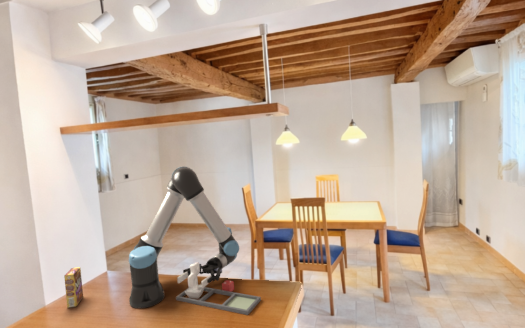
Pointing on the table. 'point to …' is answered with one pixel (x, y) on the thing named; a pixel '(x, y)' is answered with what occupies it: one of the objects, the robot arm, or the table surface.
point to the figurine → (194, 282)
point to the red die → (228, 285)
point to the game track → (233, 304)
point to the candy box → (73, 287)
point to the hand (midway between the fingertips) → (189, 282)
